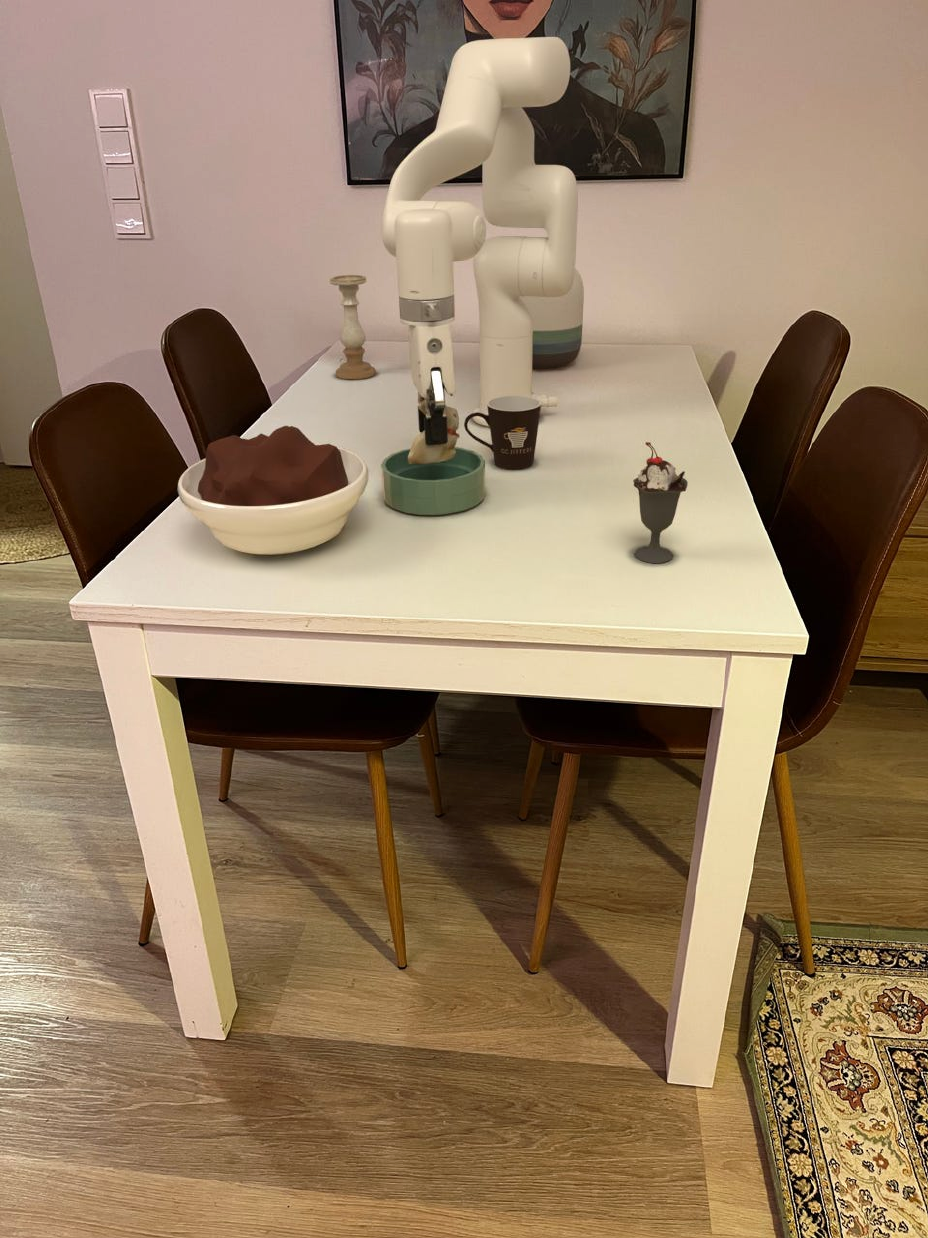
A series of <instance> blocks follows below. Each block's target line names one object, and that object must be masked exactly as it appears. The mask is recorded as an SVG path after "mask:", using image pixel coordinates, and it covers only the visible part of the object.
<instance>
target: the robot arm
mask: <svg viewBox="0 0 928 1238" xmlns="http://www.w3.org/2000/svg"><path fill="white" fill-rule="evenodd" d="M450 63H451V64H450V67H449V70H448V71H449V72H448V74H447V80H446V84H445V88H444V93H443V97H442V102H441V105H440V109H439V113H438V118H437V121H436V126H435V129H434V131H433V132H432V133H431V134H429V135H428V136H427V137H426V138H424V139H423V140H422V141H421V142H420V143H419V144H417V146H415V147H414V148H413V149H412V150H411V152H410V153H409V154H408V155H407V156H406V157H404V159H403V160H402V161H401V162H400V163H399V165H398V166H397V168H396V169H395V171H394V173H393V175H392V178H391V179H390V184H389V187H388V191H387V195H386V199H385V203H384V207H383V212H382V219H381V237H382V242H383V245H384V248H385V249H386V251H387V252H388V253H389V254H390V256H393V257H394V258H396V271H397V272H396V273H397V274H396V275H397V290H398V307H399V321H400V323H401V324H404V325H407V326H408V330H407V331H408V345H409V347H408V348H409V361H410V362H409V363H410V371H411V379H412V384H413V385H414V387H415V388H416V390H417V403H418V406H417V416H418V417H417V418H418V419H417V420H418V431H419V434H420V433H421V432H423V431H424V430H425V443H426V445H439V444H446V443H447V442H448V434H447V416H446V406H447V404H446V396H445V395H446V393H447V395H449V396H450V397H454V396H455V395H456V394H457V393H456V392H457V391H456V390H457V389H456V377H455V363H454V362H455V361H454V349H453V339H452V333H451V326H450V323H453V322H455V320H456V305H455V303H456V302H455V277H454V275H455V274H454V263H455V262H465V261H468V260H471V259H472V258H473V259H472V267H473V268H472V269H473V275H474V281H475V287H476V293H477V301H478V303H477V304H478V320H479V322H478V323H479V393H480V395H479V396H480V402H479V403H480V406H478V407H476V408H475V409H474V410H472V413H476V412H479V413H483V414H485V415H488V408H487V402H488V401H489V400H491V399H493V398H497V397H502V396H514V395H516V396H528V397H533V398H536V399H538V400H540V401H541V408H553V407H557V406H558V397H557V396H556V395H552V396H551V395H550V396H547V394H538V395H536V394H535V393H534V392H533V368H532V347H533V322H532V318H531V315H530V313H529V311H528V309H527V307H526V306H525V304H524V303H523V301H522V300H521V298H520V297H524V296H537V297H560V296H563V295H565V294H567V293H568V292H569V291H570V289H571V287H572V285H573V281H574V274H575V269H576V259H577V257H576V256H577V237H578V236H577V235H578V233H577V232H578V212H579V209H578V208H579V193H578V192H579V190H578V183H577V179H576V176H575V174H574V172H573V171H572V170H571V169H570V168H568V167H567V166H565V165H560V164H536V162H535V129H534V126H533V124H532V122H531V120H530V117H529V116H528V115H527V113H526V111H525V110H524V108H536V107H537V108H538V107H545V106H549V105H551V104H555V103H557V102H558V101H559V100H561V98H562V97H563V96H564V95H565V93H566V90H567V88H568V85H569V81H570V77H571V58H570V54H569V50H568V47H567V45H566V44H565V42H564V41H563V40H562V39H561V38H559V37H558V36H540V37H539V36H537V37H517V38H516V37H512V38H511V37H508V38H507V37H505V38H489V39H477V40H472V41H469V42H467V43H465V44H463V45H461V46H460V47H459V48H458V49H457V50H456V52H455V54H454V55H453V58H452V59H451V62H450ZM481 165H482V171H481V172H482V173H481V174H482V176H481V177H482V180H481V181H482V186H481V187H482V189H481V191H482V193H481V194H482V195H481V196H482V210H483V213H482V211H481V210H480V209H479V207H477V205H475V204H473V203H470V202H467V201H456V200H450V201H449V200H447V201H446V200H444V201H442V200H421V199H422V198H423V197H424V196H425V195H426V194H427V193H428V192H429V191H431V190H432V189H433V188H435V187H437V186H439V185H440V184H443V183H445V182H447V181H449V180H453V179H455V178H456V177H459V176H461V175H463V174H466V173H468V172H469V171H472V170H474V169H476V168H478V167H479V166H481ZM486 221H487V222H488V224H490V225H492V226H495V227H501V228H510V229H511V228H515V229H516V228H517V229H543V230H544V231H546V233H547V236H525V235H523V236H518V235H499V236H492V237H488V238H486V236H487V225H486ZM430 391H431V392H433V395H430V396H428V392H430ZM445 392H446V393H445ZM424 399H425V410H426V416H425V414H424V413H423V412H422V411H420V410H419V408H418V407H419V404H420V403H421V402H422V401H424ZM429 400H434V401H433V402H434V403H431V405H430V401H429ZM540 418H541V416H540V417H539V419H540ZM472 420H473V422H475V423H476V424H478V425H481V426H484V427H489V428H490V426H489V425H488V424H487V422H486V421H485V419H484V418H482V417H479V416H475V417H473V418H472Z"/></svg>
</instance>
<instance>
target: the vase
mask: <svg viewBox="0 0 928 1238" xmlns="http://www.w3.org/2000/svg"><path fill="white" fill-rule="evenodd" d="M584 290H585V289H584V282H583V278H582V276H581V274H580V272H579V271H578V270H577V269H576V268H575V274H574V281H573V285H572V287H571V289H570V291H569V292H568V293H567V294H565V295H563V296H560V297H537V296H524V297H520V298H521V300H522V301H523V303H524V304H525V306H526V307H527V309H528V311H529V313H530V315H531V318H532V322H533V347H532V369H556V368H561V367H565V366H567V365H570V364H572V363H573V362H574V361H575V360H576V359H577V358H578V356H579V354H580V351H581V347H582V342H583V341H582V339H583V322H584V320H583V319H584V301H585V300H584V298H585V297H584V296H585V291H584Z"/></svg>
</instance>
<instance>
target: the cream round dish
mask: <svg viewBox="0 0 928 1238" xmlns="http://www.w3.org/2000/svg"><path fill="white" fill-rule="evenodd" d="M368 482H369V467H368V465H367V464H366V462H365V460H363V458H362V457H361V456H360V455H358V454H356V453H355V452H353V451H351V450H349V449H345V448H343V447H339V446H336V445H333V444H330V443H317V442H312V441H311V439H309V437H307V436H306V435H305V434H304V433H303V431H302V430H301V429H299V428H298V427H297V426H292V425H290V426H289V425H283V426H281V427H278V428H276V429H275V430H273V431H272V432H271V433H270V434H269V435H266V434H264V433H259V434H258V435H257V436H255V437H254V436H253V437H251V438H249V439H248V438H242V437H241V436H239V435H234V434H232V435H230V436H227V437H223V438H220V439H217V440H215V441H212V442H210V443H208V445H207V448H206V449H205V458H203V459H201V460H199V461H197V462H195V463H194V464H191V466H189V467H188V468H187V469H186V470H184V472H183V473H182V474H181V475H180V477H179V480H178V483H177V488H176V489H177V493H178V496H179V499H180V502H181V503H182V504H183V505H184V507H185V508H186V510H187V511H188V512H190V513H191V514H192V516H194V517H195V518H196V519H197V520H198V521H199V522H201V523H202V524H204V525H206V526H207V527H208V529H209V531H210V533H211V534H212V535H213V537H214V538H215V539H216V540H217V541H218V542H219V543H220V544H221V545H223V546H225V547H227V548H229V549H231V550H235V551H236V552H237V551H238V552H241V553H244V554H245V553H246V554H252V555H262V556H263V555H264V556H269V555H270V556H271V555H284V554H286V555H287V554H291V553H296V552H297V553H298V552H303V551H307V550H309V549H313V548H315V547H318V546H320V545H322V544H324V543H326V542H327V541H328V542H329V540H332V539H333V538H334V537H336V536H337V535H338V534H340V533H341V532H342V531H343V529H344V528H345V525H346V523H347V521H348V519H349V515H350V511H351V510H352V509H353V508H354V507H355V506H356V504H357V503H358V502H359V500H360V499H361V497H362V495H363V494H364V492H365V489H366V488H367V485H368Z"/></svg>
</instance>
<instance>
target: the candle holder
mask: <svg viewBox="0 0 928 1238" xmlns="http://www.w3.org/2000/svg"><path fill="white" fill-rule="evenodd" d="M329 283H330V284H331V285H332V286H338V291H339V292H340V293H341V295H342V300H341V303H340V305H341V306H343V312H344V315H343V316H344V319H343V325H342V328H341V331H340V336H339V337H340V343H341V344H342V346H343V347H344V349H343V351H342V353H343V355H344V356H345V358H346V362H342V363H341V364H340V365H339V367H338V368H336V370H335V376H336V377H337V378H340V379H342V380H343V379H344V380H363V379H368V378H371V377H373V376H375V375H376V372H377V370H376V368H375V367H374V366H372V365H371V363H370V362H368V361H364V360H363V358H364V354H365V352H366V350H365V348H364V347H363V346H364V344H365V342H366V333H365V331H364V329H363V327H362V326H361V323H360V319H359V315H358V306H359V304H360V302H359V300H358V299H357V293H358V291H359V290H360V287H359V286H360V285H363V284H365V283H367V277H366V276H364V275H360V274H344V275H336V276H332V277H330V279H329Z"/></svg>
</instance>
